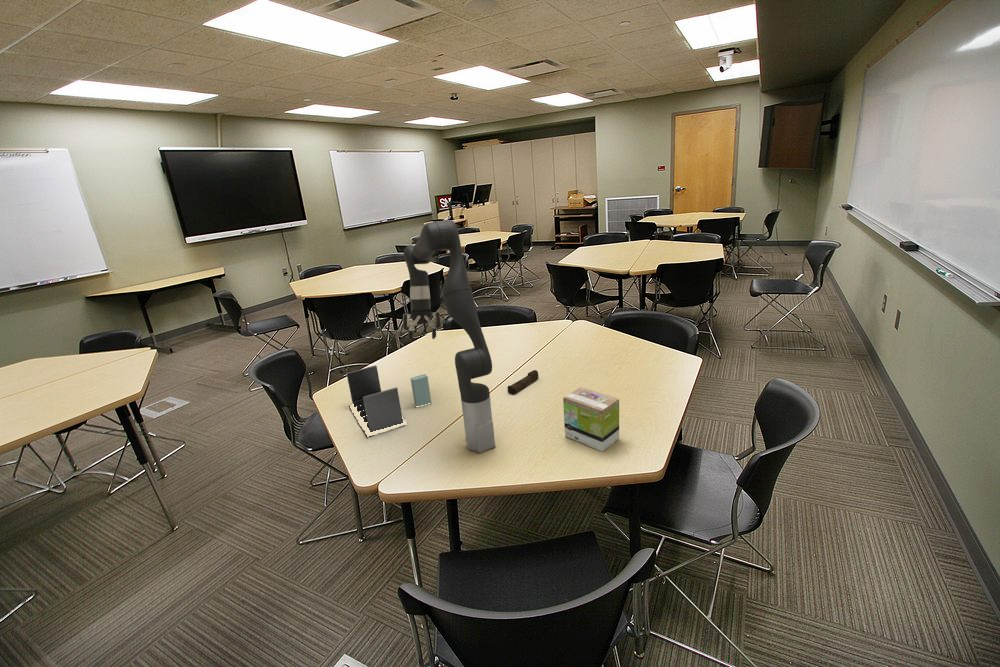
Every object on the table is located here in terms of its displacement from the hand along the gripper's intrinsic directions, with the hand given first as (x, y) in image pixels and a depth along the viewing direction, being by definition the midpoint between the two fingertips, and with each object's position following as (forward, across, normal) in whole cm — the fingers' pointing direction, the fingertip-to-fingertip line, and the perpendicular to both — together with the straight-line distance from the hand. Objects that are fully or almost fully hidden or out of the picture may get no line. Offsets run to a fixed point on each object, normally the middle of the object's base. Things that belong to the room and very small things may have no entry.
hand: (422, 339), depth 179 cm
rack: (+28, -19, +2) cm, 34 cm away
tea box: (+31, +45, -51) cm, 74 cm away
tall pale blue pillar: (+26, -1, +2) cm, 27 cm away
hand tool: (+23, +41, -2) cm, 47 cm away
